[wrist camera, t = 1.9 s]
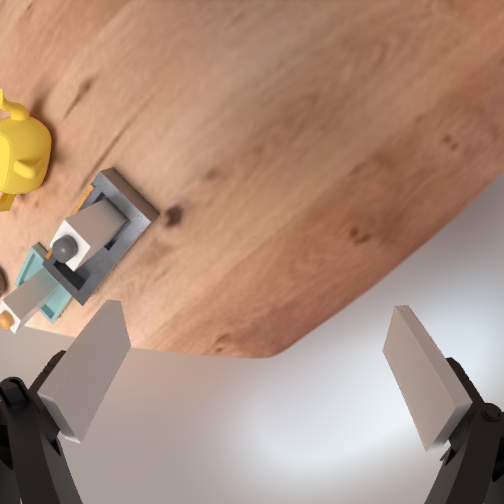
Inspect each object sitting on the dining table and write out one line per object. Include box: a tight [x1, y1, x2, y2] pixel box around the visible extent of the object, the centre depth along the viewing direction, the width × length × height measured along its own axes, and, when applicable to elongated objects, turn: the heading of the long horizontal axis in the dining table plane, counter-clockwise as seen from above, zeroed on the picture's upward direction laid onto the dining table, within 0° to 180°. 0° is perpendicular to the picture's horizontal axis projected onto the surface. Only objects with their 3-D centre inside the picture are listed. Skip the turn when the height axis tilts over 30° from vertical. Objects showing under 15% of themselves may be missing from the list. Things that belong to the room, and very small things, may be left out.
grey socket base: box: [42, 168, 160, 306], centre depth 38 cm, size 9×18×4 cm, turn 134°
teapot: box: [0, 89, 52, 212], centre depth 30 cm, size 14×13×10 cm
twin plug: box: [49, 197, 130, 271], centre depth 32 cm, size 4×4×12 cm
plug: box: [0, 268, 59, 334], centre depth 37 cm, size 4×4×12 cm
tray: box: [15, 243, 73, 324], centre depth 42 cm, size 10×10×2 cm
